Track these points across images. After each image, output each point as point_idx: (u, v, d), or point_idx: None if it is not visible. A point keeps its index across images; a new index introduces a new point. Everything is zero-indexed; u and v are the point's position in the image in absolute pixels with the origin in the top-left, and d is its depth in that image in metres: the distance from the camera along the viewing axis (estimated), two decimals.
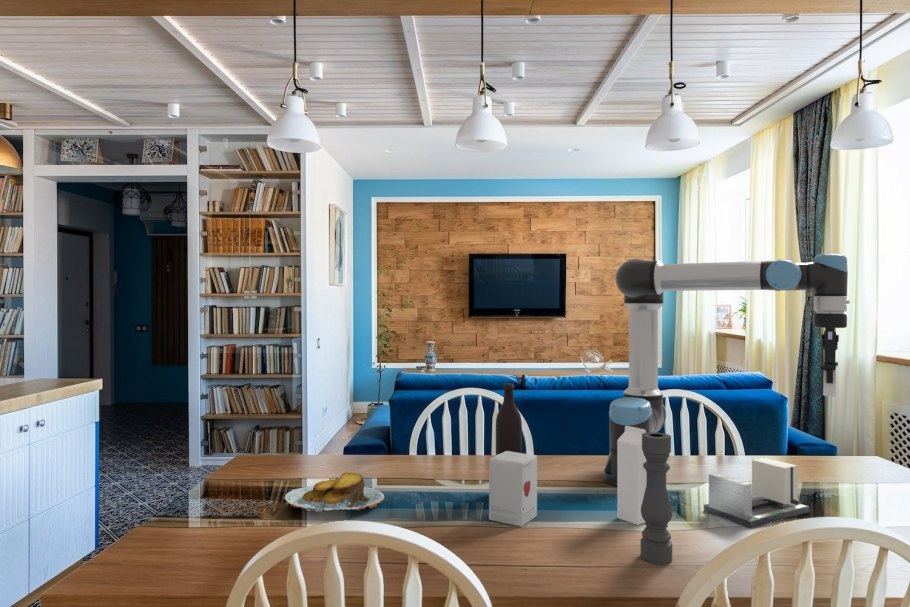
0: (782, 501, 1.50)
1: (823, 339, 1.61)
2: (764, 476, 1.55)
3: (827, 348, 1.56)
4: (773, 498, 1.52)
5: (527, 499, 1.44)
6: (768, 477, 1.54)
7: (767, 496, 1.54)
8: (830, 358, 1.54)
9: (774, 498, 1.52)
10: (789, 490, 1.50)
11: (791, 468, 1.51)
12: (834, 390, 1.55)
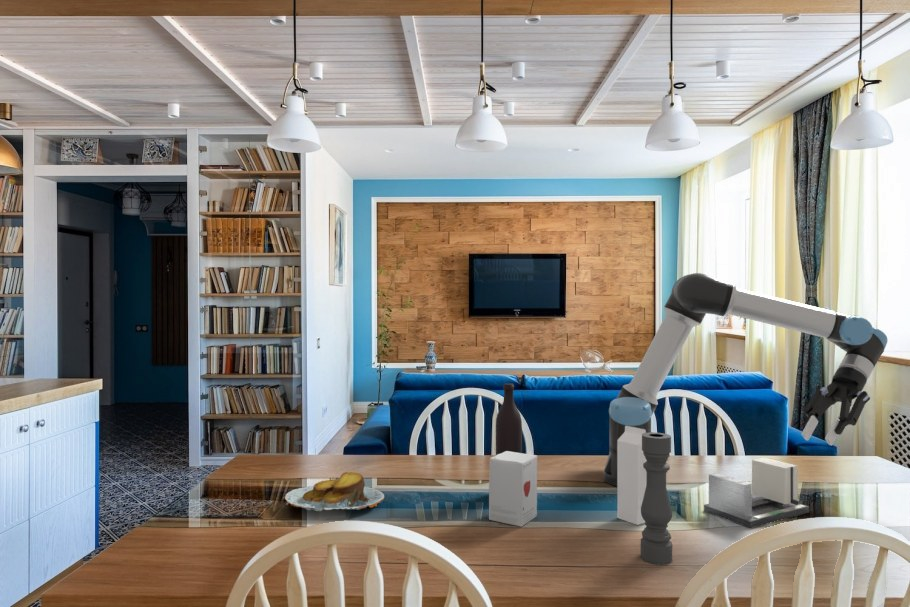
0: (782, 501, 1.50)
1: (847, 392, 1.65)
2: (764, 476, 1.55)
3: (859, 406, 1.61)
4: (773, 498, 1.52)
5: (527, 499, 1.44)
6: (768, 477, 1.54)
7: (767, 496, 1.54)
8: (856, 415, 1.60)
9: (774, 498, 1.52)
10: (789, 490, 1.50)
11: (791, 468, 1.51)
12: (834, 440, 1.60)
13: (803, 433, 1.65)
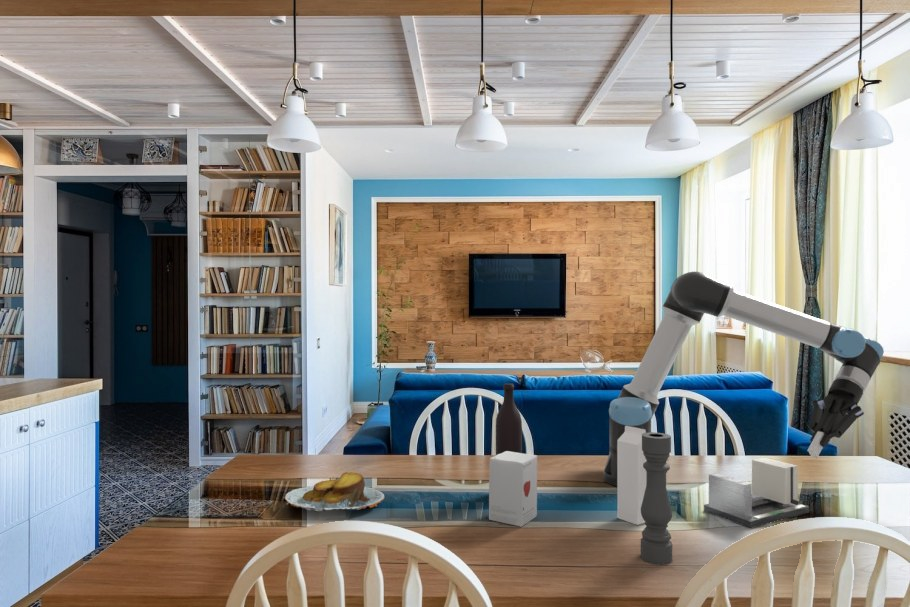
0: (782, 501, 1.50)
1: (841, 405, 1.64)
2: (764, 476, 1.55)
3: (848, 420, 1.61)
4: (773, 498, 1.52)
5: (527, 499, 1.44)
6: (768, 477, 1.54)
7: (767, 496, 1.54)
8: (843, 429, 1.61)
9: (774, 498, 1.52)
10: (789, 490, 1.50)
11: (791, 468, 1.51)
12: (819, 452, 1.61)
13: (809, 450, 1.61)
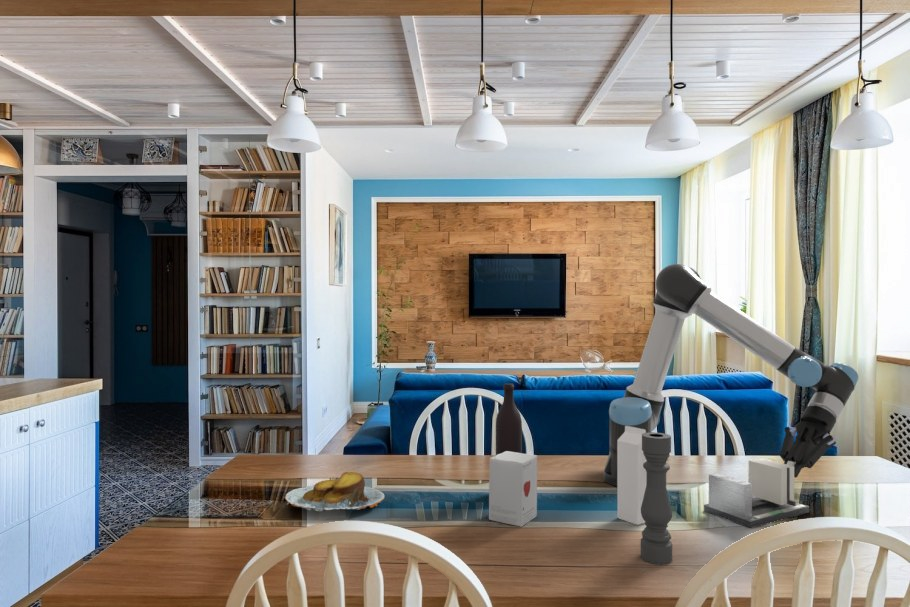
0: (778, 502, 1.50)
1: (813, 434, 1.59)
2: (760, 477, 1.54)
3: (820, 450, 1.55)
4: (769, 499, 1.52)
5: (527, 499, 1.44)
6: (764, 478, 1.53)
7: (763, 497, 1.53)
8: (814, 459, 1.55)
9: (770, 499, 1.51)
10: (785, 491, 1.50)
11: (787, 469, 1.50)
12: None
13: None
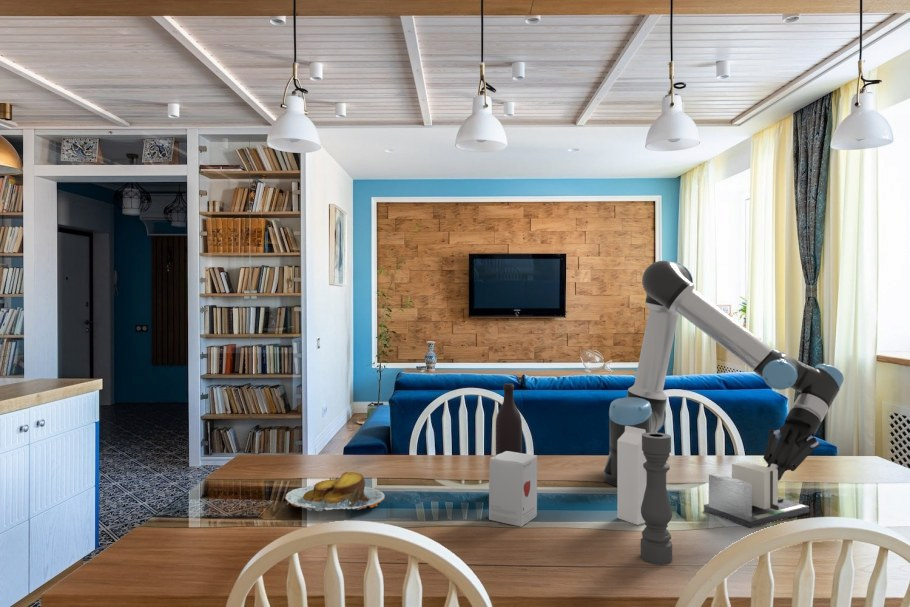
0: (761, 506, 1.47)
1: (797, 436, 1.56)
2: (743, 480, 1.51)
3: (803, 453, 1.52)
4: (752, 503, 1.49)
5: (527, 499, 1.44)
6: (747, 481, 1.50)
7: None
8: (797, 462, 1.52)
9: (753, 503, 1.49)
10: (769, 495, 1.47)
11: (771, 472, 1.47)
12: None
13: None
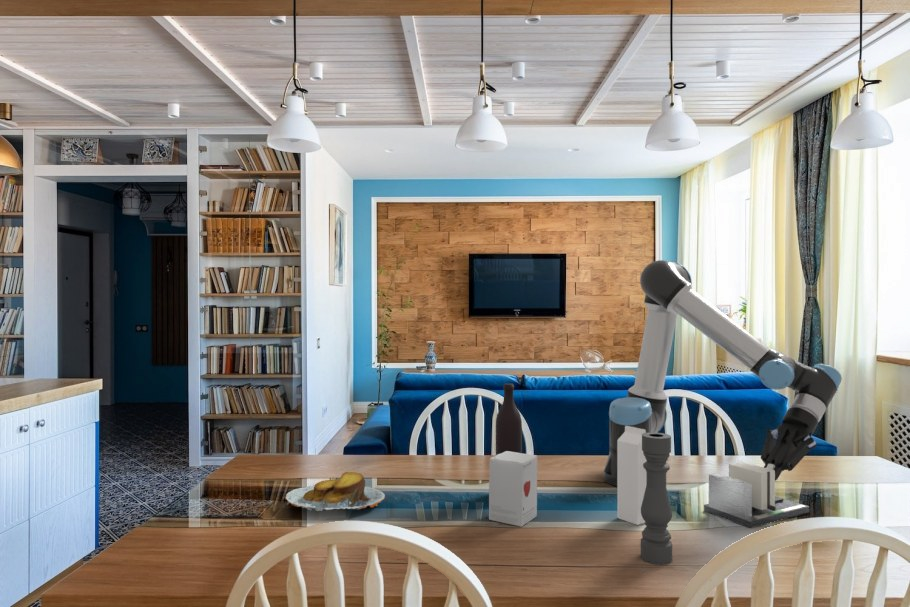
0: (758, 507, 1.46)
1: (794, 436, 1.56)
2: None
3: (800, 452, 1.52)
4: None
5: (527, 499, 1.44)
6: None
7: None
8: (794, 462, 1.52)
9: None
10: (766, 495, 1.46)
11: (768, 473, 1.46)
12: None
13: None
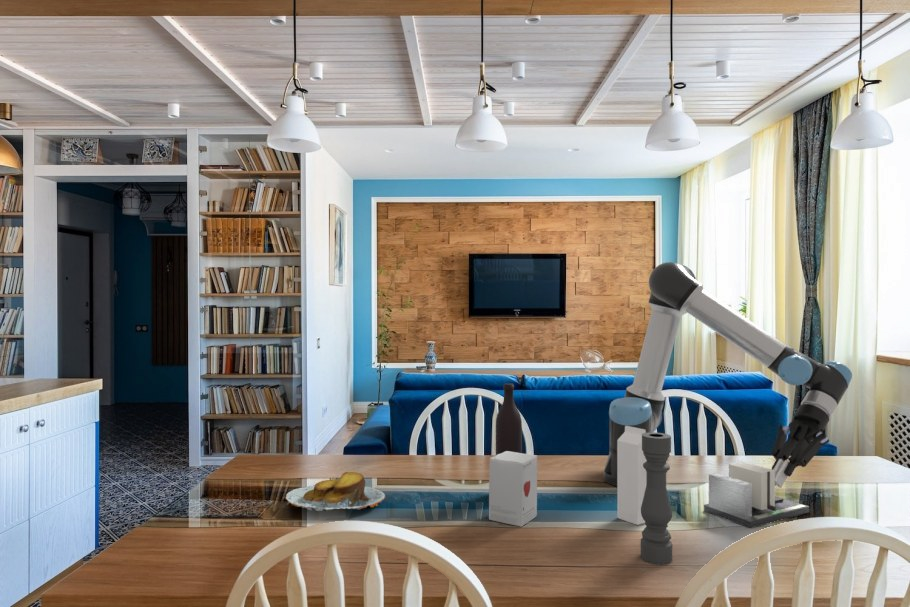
0: (758, 507, 1.46)
1: (806, 432, 1.58)
2: None
3: (813, 448, 1.54)
4: None
5: (527, 499, 1.44)
6: None
7: None
8: (808, 457, 1.54)
9: None
10: (766, 495, 1.46)
11: (768, 473, 1.46)
12: (783, 482, 1.55)
13: None
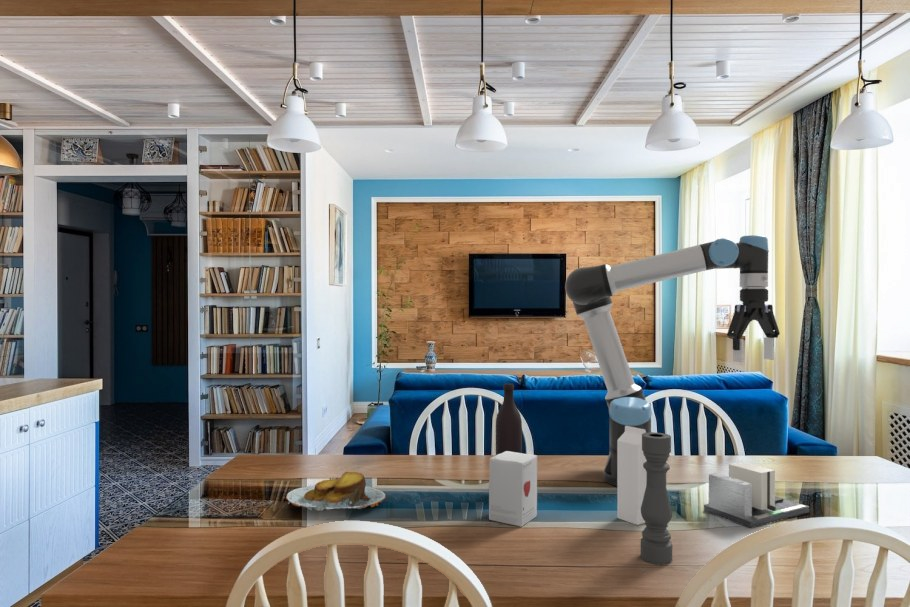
0: (758, 507, 1.46)
1: None
2: None
3: (733, 319, 1.76)
4: None
5: (527, 499, 1.44)
6: None
7: None
8: (733, 328, 1.75)
9: None
10: (766, 495, 1.46)
11: (768, 473, 1.46)
12: (740, 356, 1.75)
13: None
